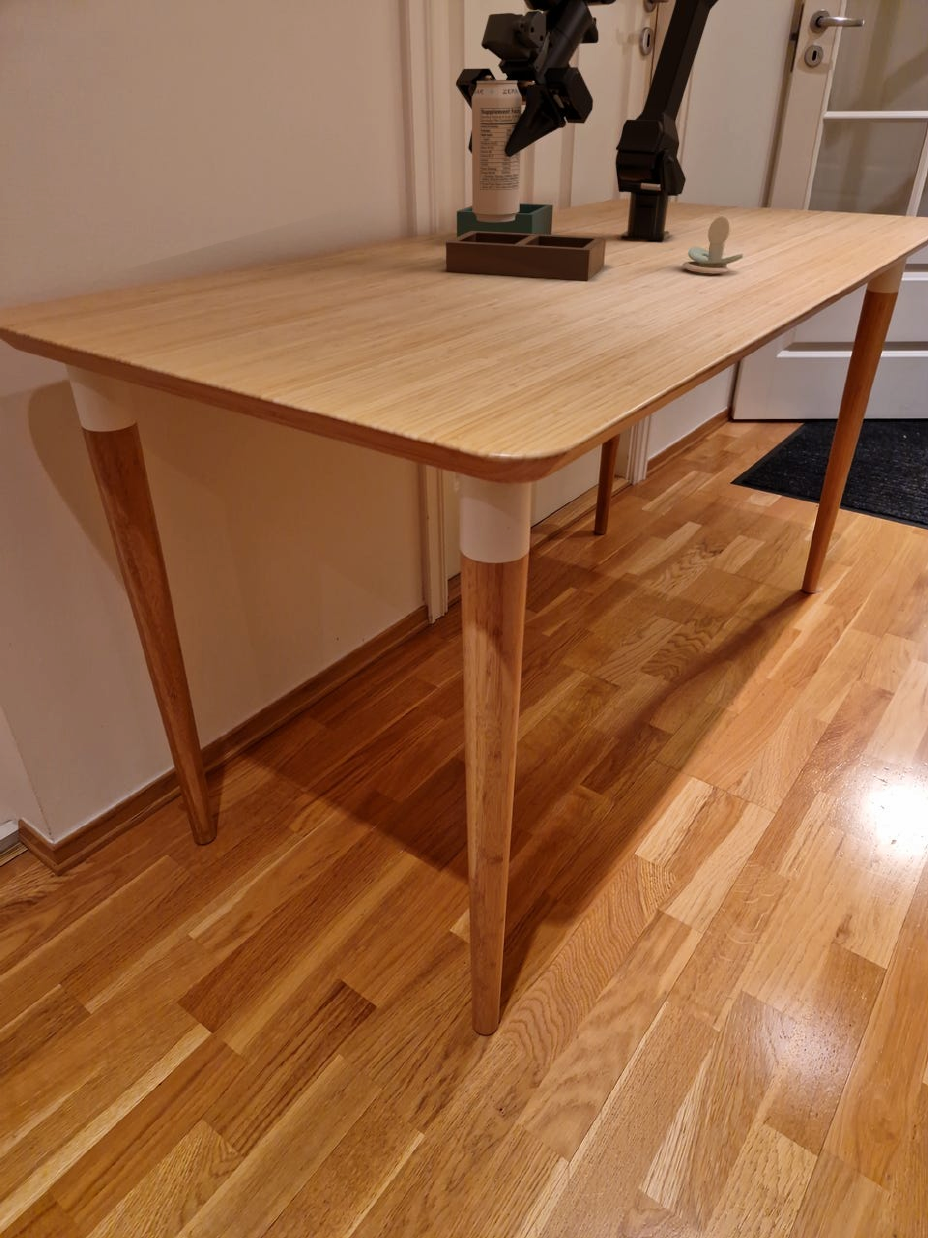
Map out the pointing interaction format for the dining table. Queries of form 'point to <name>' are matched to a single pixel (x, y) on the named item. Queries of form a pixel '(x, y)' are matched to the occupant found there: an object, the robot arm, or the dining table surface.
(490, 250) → the brown divided tray
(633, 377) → the dining table surface
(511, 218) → the energy drink can
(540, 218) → the green square tray
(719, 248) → the pacifier
